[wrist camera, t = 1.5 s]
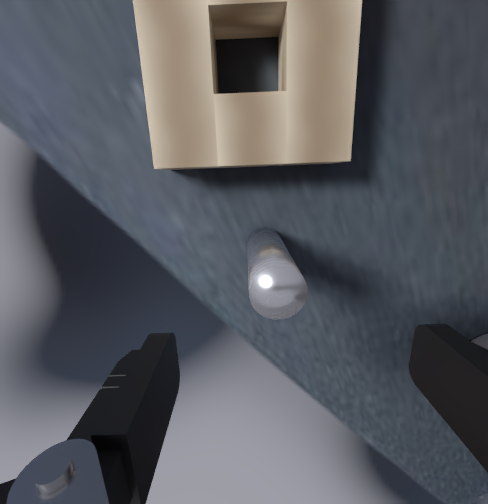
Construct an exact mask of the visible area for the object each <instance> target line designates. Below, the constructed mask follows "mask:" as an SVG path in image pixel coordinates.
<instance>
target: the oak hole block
mask: <svg viewBox="0 0 488 504" xmlns="http://www.w3.org/2000/svg"><path fill="white" fill-rule="evenodd" d="M133 5H134V13H135V21H136V28H137V36H138V44H139V52H140V60H141V68H142V76H143V84H144V92H145V100H146V108H147V116H148V123H149V131H150V139H151V147H152V155H153V163H154V169H164V170H181V169H207V168H232V167H258V166H283V165H309V164H332V163H340V162H347V161H351V149H352V136H353V122H354V108H355V94H356V80H357V66H358V52H359V38H360V24H361V10H362V0H133ZM263 37H278V91H273V92H249V93H226V94H219V92H218V75H217V57H216V40H219V39H241V38H263Z"/></svg>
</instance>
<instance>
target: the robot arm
mask: <svg viewBox="0 0 488 504" xmlns="http://www.w3.org/2000/svg"><path fill="white" fill-rule="evenodd" d="M409 371H410V375H411V378H412V380H413V382H414V383H415V385H416V386H417V387H418V389H419V390H420V391H421V392H422V393H423V395H424V396H425V397H426V398H427V400H428V401H429V402H430V403H431V404H432V406H433V407H434V408H435V409H436V410H437V412H438V413H439V414H440V415H441V417H442V418H443V419H444V420H445V421H446V423H447V424H448V425H449V426H450V427H451V429H452V430H453V431H454V432H455V433H456V435H457V436H458V437H459V438H460V440H461V441H462V442H463V443H464V444H465V446H466V447H467V448H468V449H469V450H470V452H471V453H472V454H473V455H474V457H475V458H476V459H477V460H478V461H479V463H480V464H481V465H482V466H483V467H484V469H485V470H486V471H487V472H488V350H487V349H485V348H483V347H481V346H479V345H477V344H475V343H473V342H471V341H469V340H468V339H466V338H465V337H463V336H462V335H461V334H459V333H458V332H457V331H455V330H454V329H452V328H451V327H450V326H448V325H446V324H424V325H418V326H417V327H416V329H415V332H414V338H413V344H412V350H411V355H410V361H409ZM179 382H180V370H179V363H178V354H177V346H176V339H175V335H174V333H151V334H149V335H148V337H147V339H146V340H145V342H144V344H143V346H142V347H141V349H140V350H132V351H131V352H129V353H128V354H127V355H126V356H124V357H123V358H122V359H121V360H120V361H118V363H117V364H116V366H115V367H114V369H113V371H112V372H111V374H110V377H109V378H107V380H106V381H105V383H104V384H103V386H102V389H100V390H99V392H98V393H97V395H96V396H95V398H94V399H93V401H92V402H91V404H90V405H89V407H88V408H87V410H86V411H85V413H84V414H83V416H82V418H81V419H80V421H79V422H78V424H77V425H76V427H75V428H74V430H73V431H72V433H71V434H70V436H69V437H68V439H67V440H66V441H64V442H61V443H58V444H56V445H54V446H52V447H50V448H48V449H47V450H45V451H44V452H42V453H41V454H40V455H38V456H37V457H36V458H34V459H33V460H32V461H31V462H30V463H29V464H28V465H27V466H26V467H25V468H24V469H23V470H22V472H21V473H20V474H19V475H18V477H17V478H16V479H13V480H11V481H8V482H5V483H2V484H0V504H145V503H146V500H147V496H148V493H149V490H150V486H151V483H152V480H153V476H154V472H155V469H156V466H157V462H158V459H159V456H160V452H161V449H162V445H163V442H164V438H165V435H166V431H167V428H168V425H169V421H170V418H171V414H172V411H173V407H174V404H175V401H176V397H177V394H178V390H179Z"/></svg>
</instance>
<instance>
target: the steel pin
mask: <svg viewBox="0 0 488 504" xmlns="http://www.w3.org/2000/svg"><path fill="white" fill-rule="evenodd" d="M247 253H248V278H249V297H250V301H251V304H252V306H253V307H254V309H255V310H256V311H257V312H258V313H259V314H261V315H262V316H264V317H267V318H270V319H285V318H288V317H291V316H293V315H294V314H296V313H297V312H298V311H300V309H301V308H302V307H303V306H304V304H305V302H306V300H307V295H308V288H307V284H306V281H305V279H304V278H303V276H302V274H301V272H300V271H299V269H298V267H297V265H296V264H295V262H294V260H293V259H292V257H291V255H290V253H289V252H288V250H287V248H286V246H285V245H284V243H283V241H282V239H281V238H280V236H279V234H278V233H277V232H276V231H275V230H273V229H271V228H267V227H263V228H258V229H256V230H255V231H253V232H252V233H251V234H250V236H249V238H248V241H247Z"/></svg>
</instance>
